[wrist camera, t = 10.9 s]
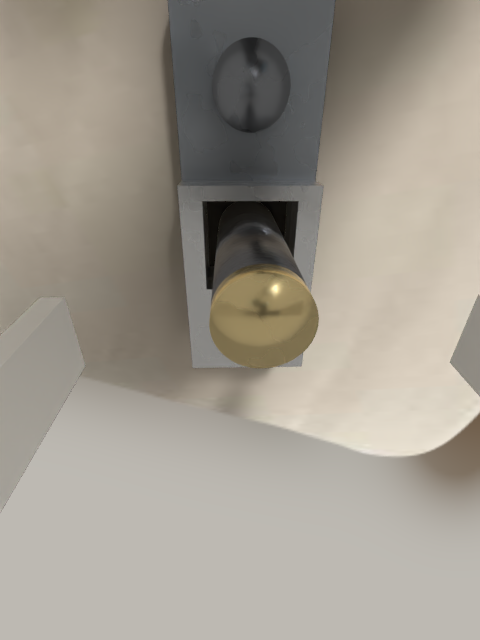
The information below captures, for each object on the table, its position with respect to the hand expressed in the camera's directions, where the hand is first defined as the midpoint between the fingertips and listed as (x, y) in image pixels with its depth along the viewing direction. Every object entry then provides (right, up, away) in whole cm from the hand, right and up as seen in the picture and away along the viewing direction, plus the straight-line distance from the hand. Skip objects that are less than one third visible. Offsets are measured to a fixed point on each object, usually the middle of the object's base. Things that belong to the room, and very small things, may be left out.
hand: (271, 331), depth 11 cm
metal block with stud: (-1, +8, +11) cm, 14 cm away
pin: (-1, +7, +12) cm, 14 cm away
